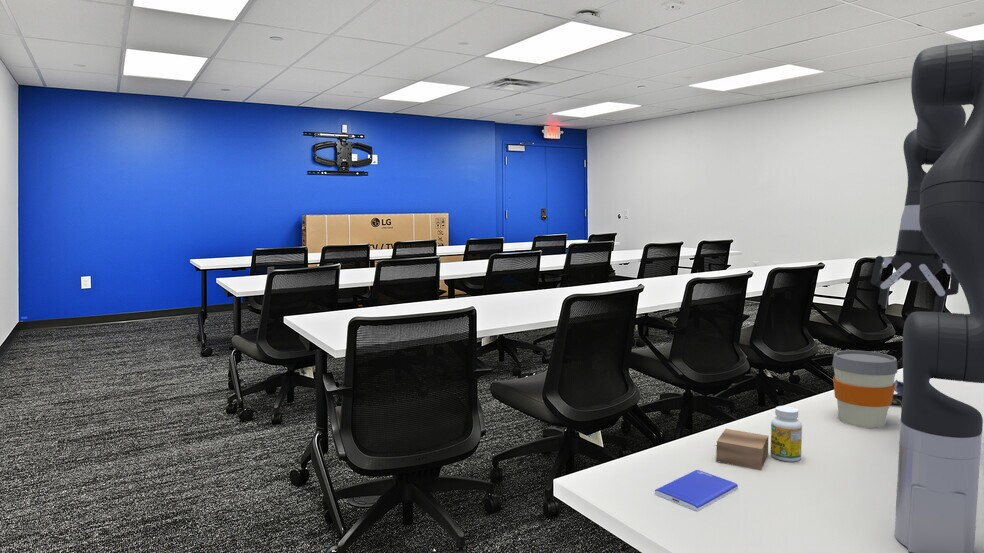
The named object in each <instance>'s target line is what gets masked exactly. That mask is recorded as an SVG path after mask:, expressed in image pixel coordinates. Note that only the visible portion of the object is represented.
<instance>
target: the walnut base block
mask: <svg viewBox="0 0 984 553" xmlns="http://www.w3.org/2000/svg"><path fill="white" fill-rule="evenodd" d="M716 443H717V445H716V451H715V454H716V455H715V456H716V457H715V462H717V461H720V462H719V463H722V462H724V464H727V463H729V464H728V465H732V464H733V466H738V467H743V468H744V467H745V468H749V469H753V470H754V469H755V470H759V471H762V469H763V467H764V464H765V463H766V460H767V459H768V457H769V435H766V434H760V433H754V432H750V431H749V432H747V431H743V430H742V431H741V430H736V429H730V428H725V429H724V430H723V432H722V433H721V434H720V436H719V437H718V439H717V440H716Z"/></svg>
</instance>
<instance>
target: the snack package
mask: <svg viewBox="0 0 984 553" xmlns="http://www.w3.org/2000/svg"><path fill="white" fill-rule="evenodd" d="M894 383H895V389H894V392H895V393H894V394H893V399H892V404H895V405H901V406H902V396H903V381H899V380H898V379H896V380H894Z"/></svg>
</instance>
